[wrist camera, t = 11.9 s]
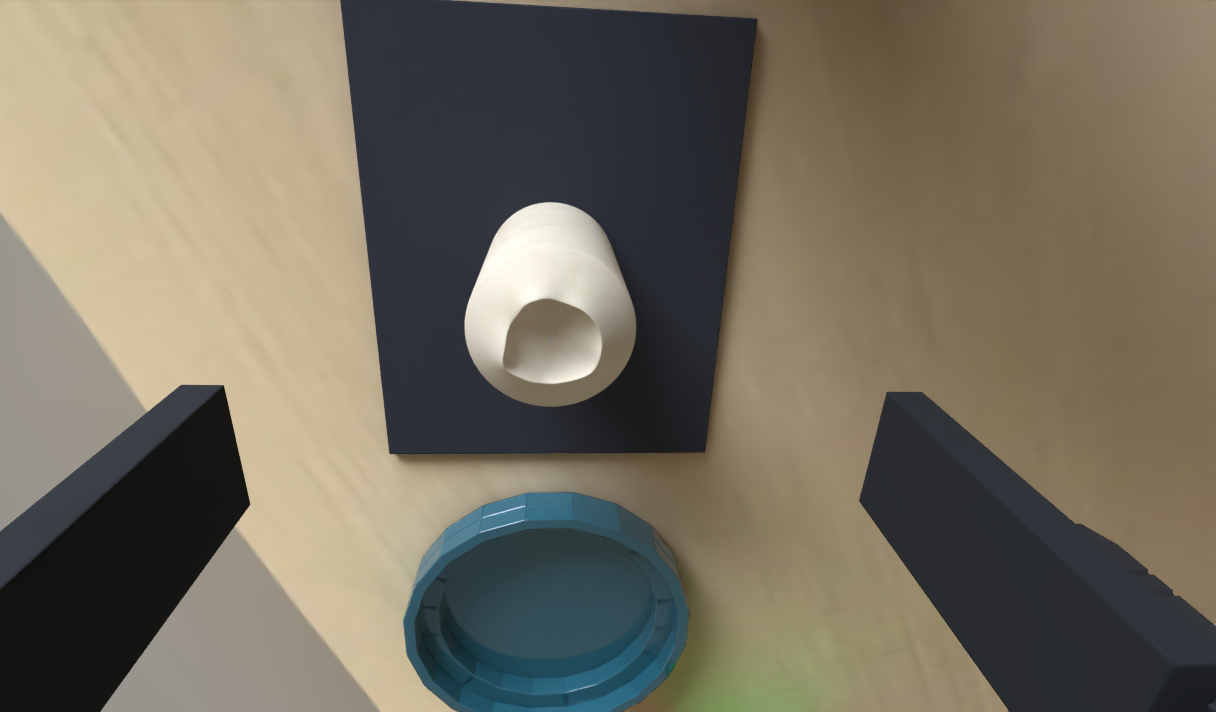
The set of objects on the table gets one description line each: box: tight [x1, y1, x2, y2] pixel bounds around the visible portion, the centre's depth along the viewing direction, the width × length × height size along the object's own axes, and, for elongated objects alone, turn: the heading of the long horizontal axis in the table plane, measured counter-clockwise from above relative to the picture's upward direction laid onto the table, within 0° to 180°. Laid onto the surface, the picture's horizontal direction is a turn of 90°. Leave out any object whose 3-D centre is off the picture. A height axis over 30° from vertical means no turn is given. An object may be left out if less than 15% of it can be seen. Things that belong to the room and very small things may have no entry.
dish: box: [403, 492, 689, 712], centre depth 35 cm, size 15×15×3 cm
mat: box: [340, 0, 757, 454], centre depth 28 cm, size 20×16×1 cm
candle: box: [465, 202, 636, 407], centre depth 23 cm, size 6×6×10 cm
